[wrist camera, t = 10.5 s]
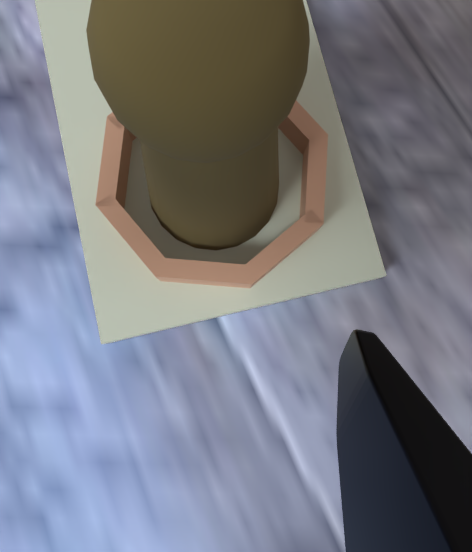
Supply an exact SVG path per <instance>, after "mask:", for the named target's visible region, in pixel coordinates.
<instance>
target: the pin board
mask: <svg viewBox="0 0 472 552" xmlns="http://www.w3.org/2000/svg"><path fill="white" fill-rule="evenodd" d="M303 3H304V7H305V11H306V15H307V18H308V22H309V34H310V45H309V55H308V66H307V73H306V76H305V79H304V82H303V86H302V88H301V90H300V92H299V94H298V97H297V99H296V101H295V103H294V105H293V107H292V110H291V112H290V114H289V115H288V116H287V117H286V119H285V120H284V121H283V122H282V123H281V124H280V125H279V126H278V155H279V190H278V200H277V205H276V207H275V209H274V211H273V214H272V216H271V218H270V220H269V222H268V223H267V224H266V225H265V226H264V227H263V228H262V229H261V231H260V232H259V233H258V234H257V235H256V236H255V237H253V238H251V239H249V240H248V241H246V242H244V243H242V244H240V245H239V246H237V247H232V248H227V249H222V250H217V251H216V250H207V249H198V248H194V247H192V246H190V245H187V244H185V243H183V242H181V241H178V240H176V239H175V238H174V237H173V236H172V235H171V234H170V233H169V232H168V231H167V230H165V229H164V228H163V227H162V226H161V224H160V222H159V221H158V219H157V217H156V215H155V214H154V212H153V210H152V208H151V203H150V197H149V192H148V186H147V181H146V175H145V169H144V163H143V158H142V152H141V146H140V140H139V139H138V138H137V137H135V136H134V135H133V134H132V133H131V132H130V131H129V130H128V129H126V128H125V127H124V126H123V125H122V124H121V123H120V122H119V121H117V119H116V117H115V115H114V114H113V112H112V110H111V108H110V107H109V105H108V103H107V101H106V100H105V98H104V96H103V94H102V92H101V91H100V89H99V87H98V85H97V83H96V82H95V80H94V76H93V71H92V65H91V59H90V53H89V48H88V40H87V32H86V29H87V23H88V17H89V12H90V6H91V0H35V4H36V9H37V15H38V20H39V25H40V30H41V35H42V40H43V46H44V51H45V56H46V61H47V66H48V71H49V77H50V82H51V87H52V92H53V97H54V102H55V108H56V113H57V118H58V123H59V128H60V133H61V139H62V144H63V149H64V154H65V159H66V164H67V170H68V175H69V180H70V185H71V190H72V195H73V201H74V206H75V211H76V216H77V221H78V226H79V232H80V237H81V242H82V247H83V252H84V257H85V263H86V268H87V273H88V278H89V283H90V288H91V293H92V299H93V304H94V309H95V314H96V319H97V324H98V330H99V335H100V340H101V344H108V343H112V342H116V341H121V340H125V339H129V338H133V337H137V336H141V335H146V334H150V333H154V332H158V331H162V330H166V329H171V328H175V327H179V326H183V325H187V324H192V323H196V322H200V321H204V320H208V319H212V318H217V317H221V316H225V315H229V314H233V313H237V312H242V311H246V310H250V309H254V308H258V307H262V306H267V305H271V304H275V303H279V302H283V301H287V300H292V299H296V298H300V297H304V296H308V295H313V294H317V293H321V292H325V291H329V290H333V289H338V288H342V287H346V286H350V285H354V284H358V283H363V282H367V281H371V280H375V279H379V278H382V277H384V276H387V275H386V272H385V269H384V265H383V262H382V258H381V255H380V251H379V248H378V245H377V241H376V238H375V234H374V231H373V227H372V224H371V221H370V217H369V214H368V210H367V207H366V203H365V200H364V197H363V193H362V190H361V186H360V183H359V179H358V176H357V173H356V169H355V166H354V162H353V159H352V155H351V152H350V149H349V145H348V142H347V138H346V135H345V131H344V128H343V125H342V121H341V118H340V114H339V111H338V107H337V104H336V101H335V97H334V94H333V90H332V87H331V83H330V80H329V77H328V73H327V70H326V66H325V63H324V59H323V56H322V53H321V49H320V46H319V42H318V39H317V35H316V32H315V29H314V25H313V22H312V18H311V15H310V11H309V8H308V5H307V1H306V0H303Z"/></svg>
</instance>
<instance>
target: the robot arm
mask: <svg viewBox="0 0 472 552" xmlns="http://www.w3.org/2000/svg"><path fill="white" fill-rule="evenodd" d="M337 450H338V462H339V475H340V487H341V499H342V511H343V523H344V535H345V547H346V552H472V454H471V452H470V451H469V450H468V449H467V447H466V446H465V445H464V444H463V442H462V441H461V440H460V439H459V437H458V436H457V435H456V434H455V432H454V431H453V430H452V429H451V427H450V426H449V425H448V424H447V423H446V421H445V420H444V419H443V418H442V416H441V415H440V414H439V413H438V411H437V410H436V409H435V408H434V406H433V405H432V404H431V403H430V401H429V400H428V399H427V398H426V396H425V395H424V394H423V393H422V391H421V390H420V389H419V388H418V386H417V385H416V384H415V383H414V381H413V380H412V379H411V378H410V376H409V375H408V374H407V373H406V371H405V370H404V369H403V368H402V367H401V365H400V364H399V363H398V362H397V360H396V359H395V358H394V357H393V355H392V354H391V353H390V352H389V350H388V349H387V348H386V347H385V345H384V344H383V343H382V342H381V340H380V339H379V338H378V337H377V336H376V335H375V334H374V333H372V332H368V331H363V330H354V331H353V332H352V333H351V335H350V337H349V340H348V342H347V344H346V346H345V348H344V351H343V353H342V355H341V358H340V362H339V375H338V402H337Z"/></svg>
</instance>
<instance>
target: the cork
mask: <svg viewBox="0 0 472 552" xmlns="http://www.w3.org/2000/svg"><path fill="white" fill-rule="evenodd" d="M86 32H87V40H88V48H89V53H90V59H91V65H92V71H93V76H94V80H95V82H96V83H97V85H98V87H99V89H100V91H101V92H102V94H103V96H104V98H105V100H106V101H107V103H108V105H109V107H110V108H111V110H112V112H113V114H114V115H115V117H116V119H117V121H119V122H120V123H121V124H122V125H123V126H124V127H125V128H126V129H128V130H129V131H130V132H131V133H132V134H133V135H134V136H135V137H137V138H138V139H139V140H140V146H141V152H142V158H143V163H144V169H145V175H146V181H147V186H148V192H149V197H150V203H151V208H152V210H153V212H154V214H155V215H156V217H157V219H158V221H159V222H160V224H161V226H162V227H163V228H164V229H165V230H167V231H168V232H169V233H170V234H171V235H172V236H173V237H174V238H175V239H176V240H178V241H181V242H183V243H185V244H187V245H190V246H192V247H194V248H198V249H207V250H216V251H217V250H222V249H227V248H232V247H237V246H239V245H240V244H242V243H244V242H246V241H248V240H249V239H251V238H253V237H255V236H256V235H257V234H258V233H259V232H260V231H261V229H262V228H263V227H264V226H265V225H266V224H267V223H268V222H269V220H270V218H271V216H272V214H273V211H274V209H275V207H276V205H277V200H278V190H279V155H278V126H279V125H280V124H281V123H282V122H283V121H284V120H285V119H286V117H287V116H288V115H289V114H290V112H291V110H292V107H293V105H294V103H295V101H296V99H297V97H298V94H299V92H300V90H301V88H302V86H303V82H304V79H305V76H306V73H307V66H308V55H309V45H310V34H309V22H308V18H307V15H306V11H305V7H304V3H303V0H91V6H90V12H89V17H88V23H87V29H86Z"/></svg>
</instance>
